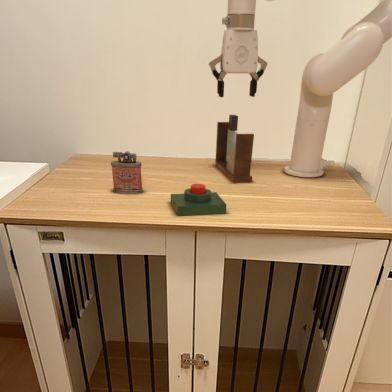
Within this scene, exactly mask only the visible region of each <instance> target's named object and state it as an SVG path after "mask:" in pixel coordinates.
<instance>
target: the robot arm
mask: <svg viewBox="0 0 392 392" xmlns="http://www.w3.org/2000/svg"><path fill="white" fill-rule="evenodd" d="M265 1H266V2H274V1H275V0H265ZM256 7H257V0H227V13H226V16H225V17H222V18H221V24H222V25H225V27H226V29H224V31H223V36H222V41H221V49H220V50H221V52H220V55H219V56H217V57H215V58H214V59H212V60H211V61H209V62H208V67H209V69H210V71H211V74H212V75H213V77H214V78H215V79H216V81H217V86H216V88H217V89H216V93H217V94H218V97H220V98H224V96H225V81H224V79H225V77H226V76H227V74H249V76H250V78H251V80H250V81H249V94H248V95H249V96H250V97H251V98H254V97H255V96H256V94H257V91H258V90H257V89H258V81H259V80H260V78H261V77H262V76H263V75H264V73H265V71H266V70H267V69H266V68H267V67H268V65H269V64H268V61H266V60H264V59H263V58H261V57H260V56H259V39H258V30H257V29H255V20H256ZM391 38H392V0H382V1H381V2H380V3H379V4H378V5H377V6H375V8H374V9H372V10H371V11H370V12H368V13H367V14H366V15H365V16H364V17H363V18H361V19H360V20H359V21H357V22H356V23H355V24H354V25H352V26H350V27H349V28H348V29H347V30H346V31H344V33H343V35H342V36H341V38H340V40H339V41H338V42H336V44H334V45H333V46H332V47H331V48H329V49H328V50H327V51H325V52H324V53H323V52H322V53H318V54H315V55H313V56H312V57H311V58H310V59H309V60H308V61H307V63H306V65H305V66H304V69H303V70H302V71H303V72H302V75H301V84H300V92H299V93H300V95H299V102H298V108H297V109H298V110H297V116H296V122H295V129H294V135H293V143H292V147H291V154H290V161H289V165H286V166H284V169H283V171H284V173H285V174H287V175H290V176H293V177H299V178H320V177H322V176H324V173H325V170H324V169H325V168H333V167H334V166H335V163H336V162H335V160H328V159H325V158H323V152H324V147H325V141H326V138H327V137H326V136H327V132H328V126H329V121H330V117H331V111H332V106H333V98H334V93H336V92H337V91H339V90H340V89H342V88H343V87H344V86H345V85H347V84H348V83H350V82H351V81H352V80H354V78H356V77H357V76H358V75H359V74H361V73H362V72H364V71H365V70H366V69H367V68H369V66H371V65H372V64H374V62H375V61H376V59H377V58H378V57H379V56H380V54H381V51H382V49H383V47H384V44H385V43H387V42H388V41H389V40H390V39H391ZM218 64H219V65H220V66H219V69H220V71H219V72H218V70H217V68H216V65H218ZM258 65H260V67H259V69H258Z"/></svg>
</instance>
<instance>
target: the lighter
mask: <svg viewBox="0 0 392 392" xmlns="http://www.w3.org/2000/svg"><path fill="white" fill-rule="evenodd" d="M112 158H113V159H117V160H111V161H110V166H111V173H112V184H113V187H112V190H113V193H118V194H143V193H144V190H143V183H142V181H143V179H142V161H137V153H135V152H133V153H132V152H130V151H129V150H126V151H125V152H122V151H113V152H112Z"/></svg>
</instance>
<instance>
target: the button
mask: <svg viewBox="0 0 392 392" xmlns="http://www.w3.org/2000/svg"><path fill="white" fill-rule="evenodd" d="M190 188H191V193H193V194H204V193H205V189H206V185H205V184H203V183H193V184H190Z"/></svg>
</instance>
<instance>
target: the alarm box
mask: <svg viewBox="0 0 392 392" xmlns="http://www.w3.org/2000/svg"><path fill="white" fill-rule="evenodd" d="M170 204H171V206H172V208H173V210H174V212H175V213H176V216H178V217H181V216H197V215H218V214H220V215H223V214H227V203H226V202H225V201H224V200H223V198H222V197H221V196H220V195H219V194H218V193H217V192H215V191H214V192H213V191H211V189H209V188H205V193H204V194H193V193H191V187H190V188H186V189H185V190H184V192H183V193H170Z"/></svg>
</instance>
